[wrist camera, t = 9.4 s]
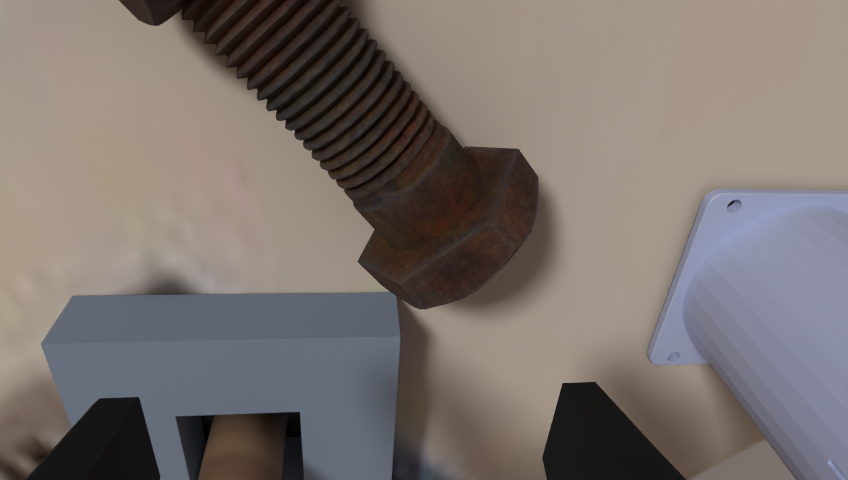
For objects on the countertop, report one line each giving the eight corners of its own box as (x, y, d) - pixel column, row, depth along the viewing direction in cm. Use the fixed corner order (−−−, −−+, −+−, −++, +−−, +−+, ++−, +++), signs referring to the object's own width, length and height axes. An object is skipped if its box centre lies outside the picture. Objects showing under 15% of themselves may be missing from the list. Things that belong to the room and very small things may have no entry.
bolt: (109, -274, 14) (465, 176, 21) (-67, -149, 13) (370, 282, 19) (109, -506, 9) (581, 191, 15) (-184, -334, 8) (462, 335, 14)
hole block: (395, 292, 21) (400, 336, 19) (385, 481, 27) (388, 531, 25) (72, 295, 20) (41, 343, 18) (135, 495, 25) (116, 548, 23)
